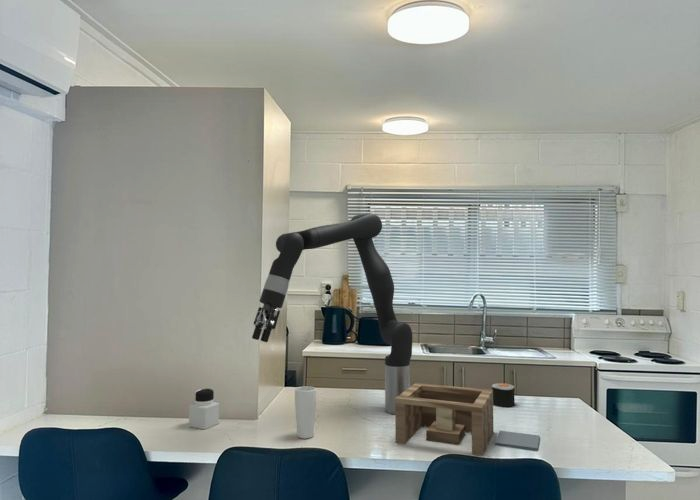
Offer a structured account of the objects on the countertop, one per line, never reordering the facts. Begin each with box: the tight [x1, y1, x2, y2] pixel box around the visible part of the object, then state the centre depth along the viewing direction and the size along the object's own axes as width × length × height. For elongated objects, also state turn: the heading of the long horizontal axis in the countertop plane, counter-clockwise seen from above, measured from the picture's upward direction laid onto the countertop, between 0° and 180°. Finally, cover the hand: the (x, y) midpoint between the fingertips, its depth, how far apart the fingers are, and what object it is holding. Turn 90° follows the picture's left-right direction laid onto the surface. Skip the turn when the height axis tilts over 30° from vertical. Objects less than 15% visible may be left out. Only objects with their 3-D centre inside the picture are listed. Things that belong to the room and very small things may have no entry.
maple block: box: [436, 408, 456, 431], centre depth 156 cm, size 5×5×7 cm
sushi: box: [491, 382, 516, 409], centre depth 193 cm, size 8×8×8 cm
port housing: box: [394, 382, 494, 457], centre depth 156 cm, size 22×26×14 cm
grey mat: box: [494, 430, 540, 452], centre depth 152 cm, size 12×12×1 cm
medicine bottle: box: [188, 388, 220, 430], centre depth 168 cm, size 7×7×12 cm
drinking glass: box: [294, 385, 317, 440], centre depth 157 cm, size 7×7×15 cm
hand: (259, 340), depth 156 cm, fingers open, 8 cm apart
